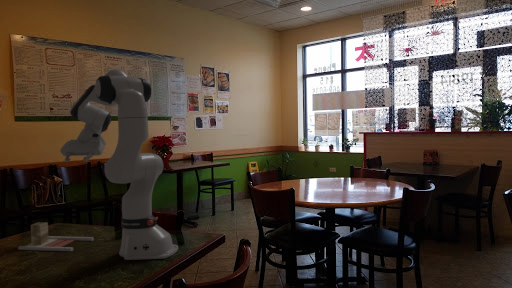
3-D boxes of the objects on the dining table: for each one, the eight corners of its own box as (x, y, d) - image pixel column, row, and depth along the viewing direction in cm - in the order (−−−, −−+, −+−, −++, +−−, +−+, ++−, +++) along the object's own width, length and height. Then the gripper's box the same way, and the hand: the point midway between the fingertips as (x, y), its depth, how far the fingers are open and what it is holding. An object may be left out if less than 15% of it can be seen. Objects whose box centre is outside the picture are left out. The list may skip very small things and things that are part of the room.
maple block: (48, 241, 158) (47, 222, 157) (41, 244, 153) (40, 225, 153) (39, 241, 158) (38, 222, 158) (31, 244, 154) (30, 225, 154)
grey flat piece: (93, 239, 160) (93, 237, 160) (71, 251, 145) (71, 248, 145) (44, 238, 164) (44, 236, 164) (18, 249, 149) (18, 246, 149)
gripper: (65, 135, 177) (52, 156, 167) (103, 134, 174) (92, 156, 164) (71, 144, 181) (59, 165, 172) (109, 143, 178) (98, 165, 169)
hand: (75, 161), depth 168 cm, fingers open, 8 cm apart
